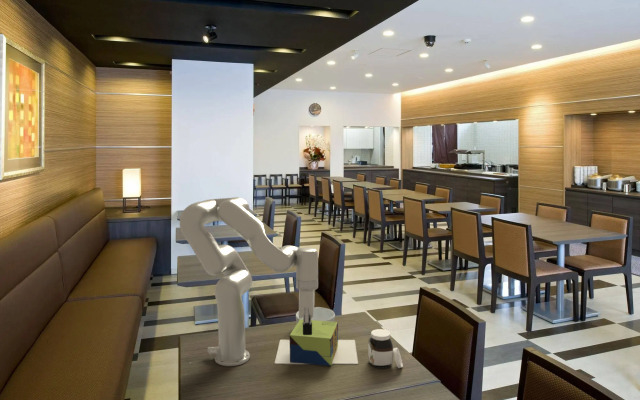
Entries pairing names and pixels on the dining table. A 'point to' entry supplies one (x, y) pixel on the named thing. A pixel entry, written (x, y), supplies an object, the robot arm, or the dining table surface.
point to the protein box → (314, 343)
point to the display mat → (342, 356)
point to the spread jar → (382, 350)
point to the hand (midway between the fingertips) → (307, 334)
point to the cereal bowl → (320, 315)
